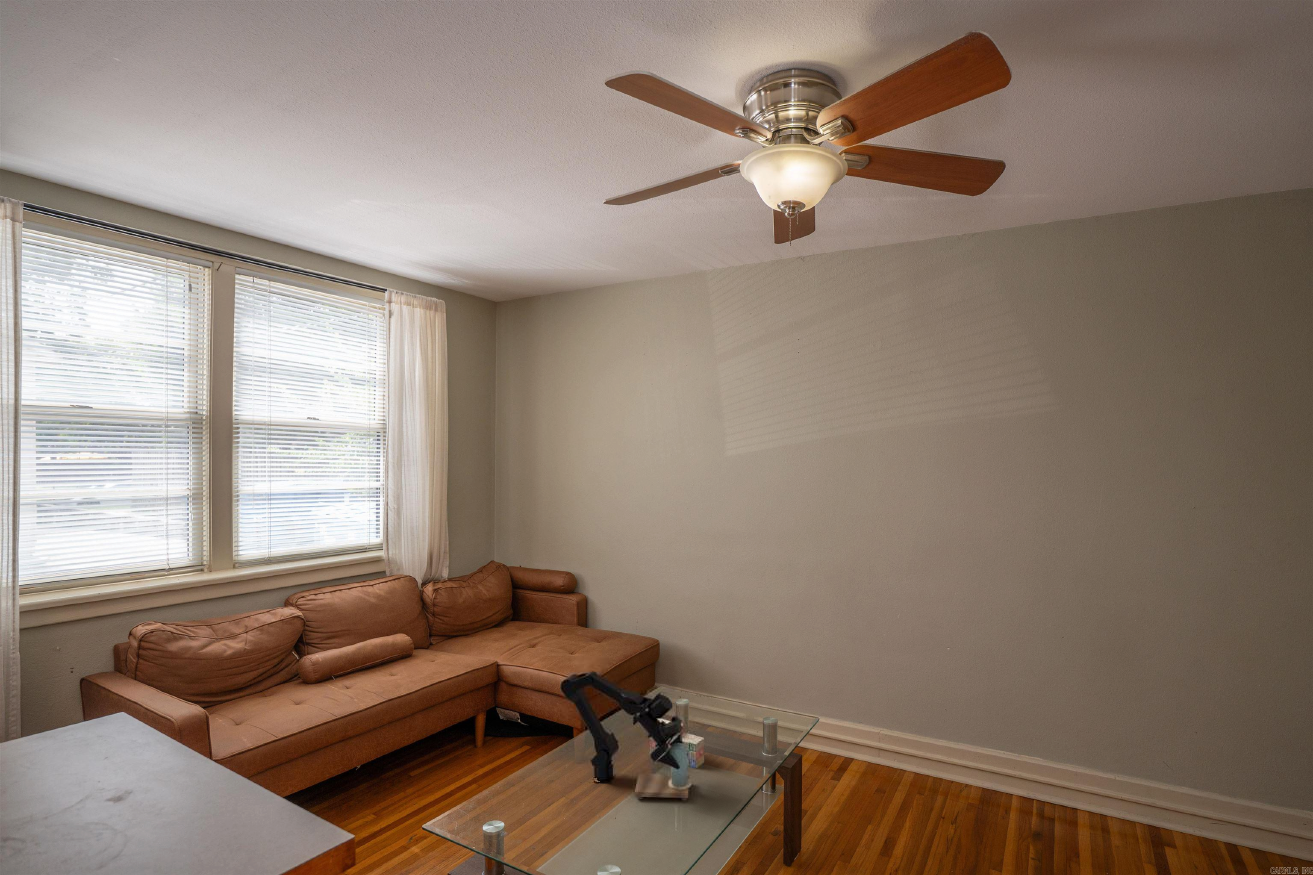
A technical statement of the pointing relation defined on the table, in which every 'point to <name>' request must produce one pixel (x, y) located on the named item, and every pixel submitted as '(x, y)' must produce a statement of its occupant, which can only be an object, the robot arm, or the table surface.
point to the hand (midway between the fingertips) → (683, 762)
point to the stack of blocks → (693, 747)
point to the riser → (659, 787)
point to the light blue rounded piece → (681, 757)
